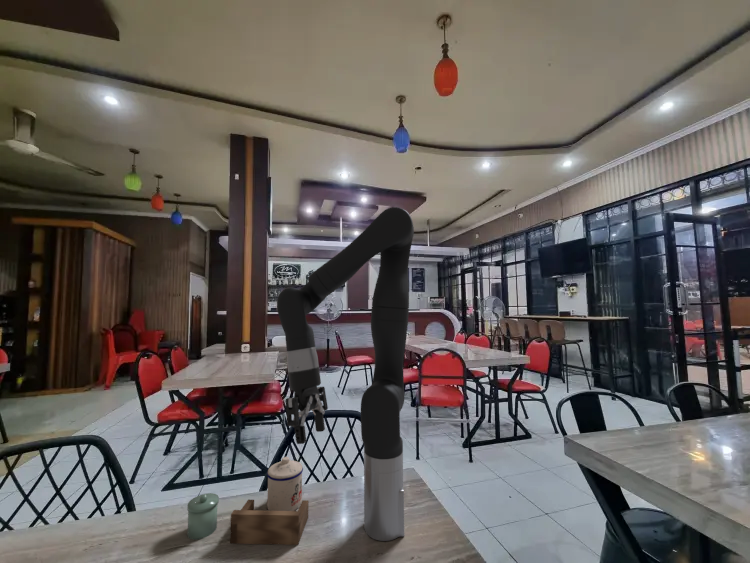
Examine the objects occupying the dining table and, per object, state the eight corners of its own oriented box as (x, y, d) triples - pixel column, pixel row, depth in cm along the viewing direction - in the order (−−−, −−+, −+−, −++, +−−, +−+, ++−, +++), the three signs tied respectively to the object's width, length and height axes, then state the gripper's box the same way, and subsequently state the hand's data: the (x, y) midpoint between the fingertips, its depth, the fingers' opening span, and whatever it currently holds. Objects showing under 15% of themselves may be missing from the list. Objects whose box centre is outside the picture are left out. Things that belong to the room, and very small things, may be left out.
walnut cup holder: (308, 517, 78) (308, 491, 79) (298, 544, 70) (298, 515, 70) (247, 516, 79) (248, 491, 79) (230, 543, 70) (230, 514, 71)
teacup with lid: (298, 515, 79) (298, 466, 80) (261, 516, 79) (262, 466, 80) (307, 488, 91) (308, 445, 92) (275, 488, 91) (276, 446, 92)
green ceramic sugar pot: (222, 521, 77) (224, 487, 78) (208, 540, 71) (209, 503, 72) (196, 520, 78) (198, 487, 78) (179, 539, 71) (181, 502, 72)
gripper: (300, 370, 72) (309, 447, 69) (330, 362, 85) (339, 426, 82) (272, 374, 74) (280, 448, 71) (306, 365, 87) (313, 428, 85)
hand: (311, 436), depth 77 cm, fingers open, 8 cm apart
